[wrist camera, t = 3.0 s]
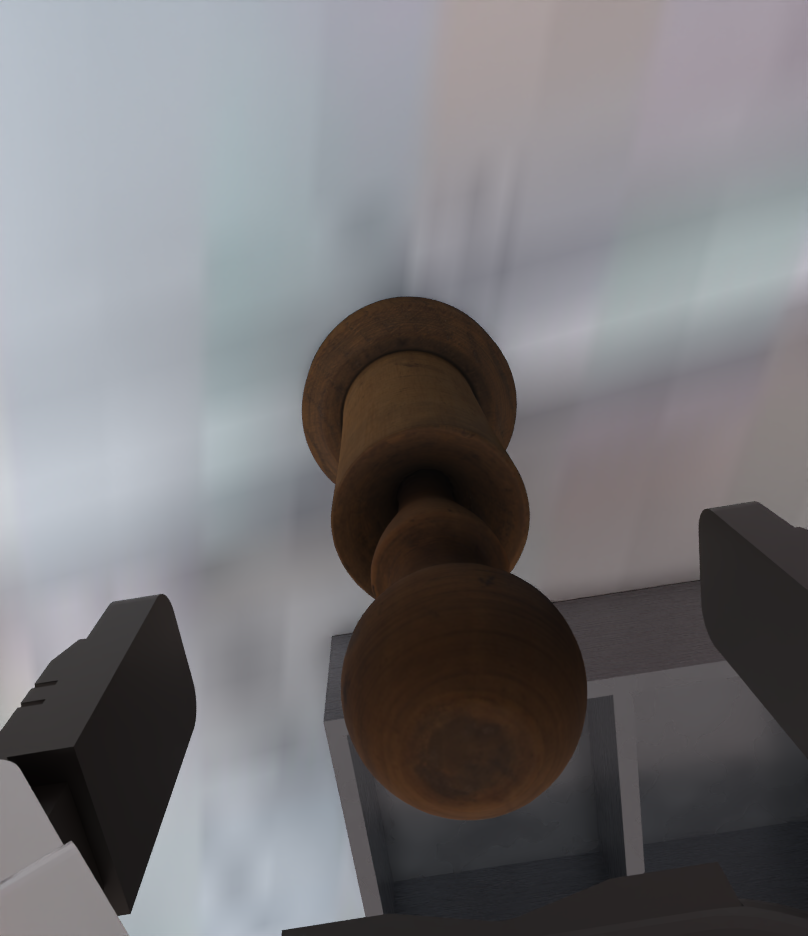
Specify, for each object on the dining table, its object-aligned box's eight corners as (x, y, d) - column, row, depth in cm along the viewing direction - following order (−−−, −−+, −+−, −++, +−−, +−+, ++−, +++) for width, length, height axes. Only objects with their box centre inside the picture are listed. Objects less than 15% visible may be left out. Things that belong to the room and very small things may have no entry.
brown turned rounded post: (377, 524, 27) (383, 1065, 10) (266, 370, 25) (29, 697, 8) (541, 421, 26) (875, 815, 9) (438, 254, 24) (600, 332, 7)
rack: (1070, 523, 28) (1214, 586, 23) (1036, 785, 31) (1155, 886, 26) (332, 636, 28) (323, 721, 23) (382, 882, 31) (383, 1000, 27)
